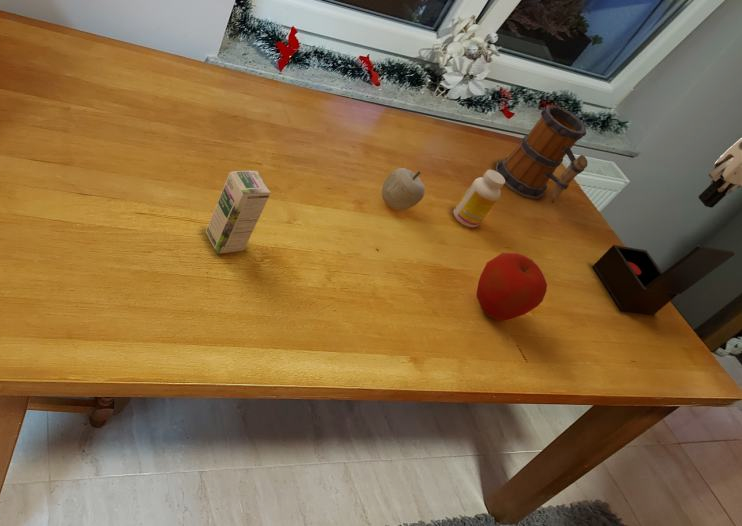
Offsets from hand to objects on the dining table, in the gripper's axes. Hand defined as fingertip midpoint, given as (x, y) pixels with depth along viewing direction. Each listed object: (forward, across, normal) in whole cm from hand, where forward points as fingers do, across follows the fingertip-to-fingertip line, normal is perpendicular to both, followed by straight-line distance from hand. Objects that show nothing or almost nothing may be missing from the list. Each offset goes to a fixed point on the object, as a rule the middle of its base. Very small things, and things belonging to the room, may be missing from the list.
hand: (704, 202), depth 144 cm
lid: (+11, 0, -9) cm, 14 cm away
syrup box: (+27, -98, -3) cm, 102 cm away
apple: (+27, -44, -12) cm, 53 cm away
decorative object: (+27, -57, +16) cm, 65 cm away
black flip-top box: (+27, 0, -2) cm, 27 cm away
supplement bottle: (+27, -38, +15) cm, 49 cm away
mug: (+27, -11, +33) cm, 44 cm away
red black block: (+26, 0, 0) cm, 26 cm away
